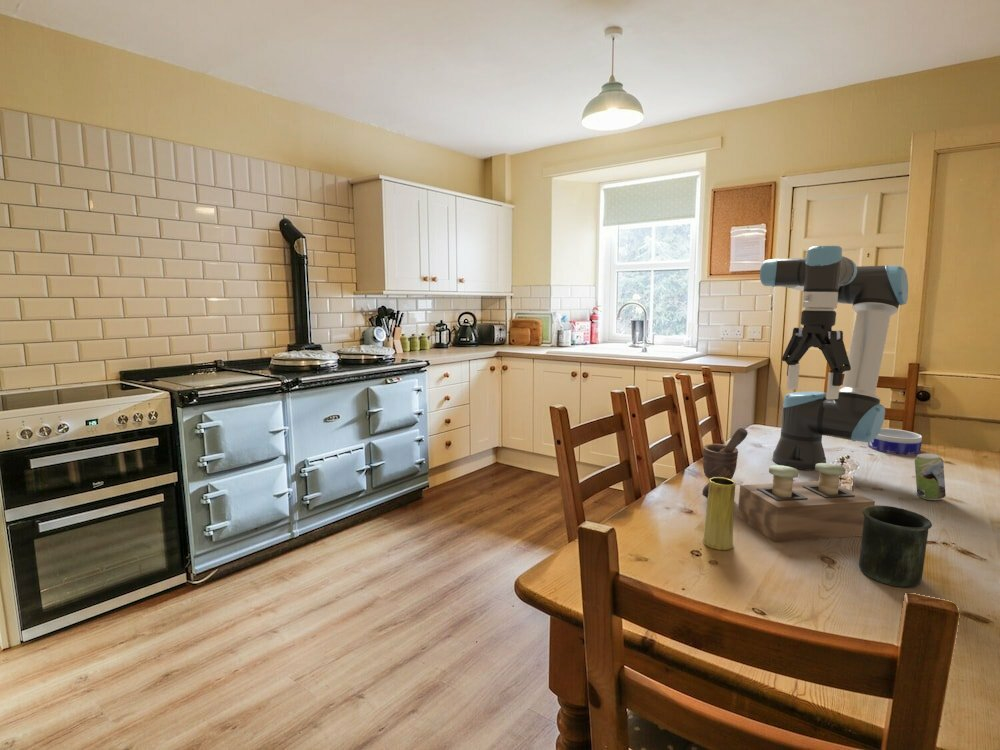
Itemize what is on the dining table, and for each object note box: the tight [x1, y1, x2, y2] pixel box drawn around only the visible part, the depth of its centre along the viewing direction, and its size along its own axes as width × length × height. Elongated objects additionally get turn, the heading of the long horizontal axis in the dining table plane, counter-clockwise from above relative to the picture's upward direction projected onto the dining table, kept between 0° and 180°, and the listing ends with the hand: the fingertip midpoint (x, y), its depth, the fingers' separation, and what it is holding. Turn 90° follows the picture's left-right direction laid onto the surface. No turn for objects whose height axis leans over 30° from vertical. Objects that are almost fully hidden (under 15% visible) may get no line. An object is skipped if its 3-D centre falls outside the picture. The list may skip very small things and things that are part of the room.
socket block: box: [737, 480, 876, 543], centre depth 128 cm, size 14×24×8 cm, turn 99°
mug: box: [858, 504, 933, 588], centre depth 107 cm, size 11×15×12 cm
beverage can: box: [914, 452, 947, 501], centre depth 146 cm, size 6×7×12 cm
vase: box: [702, 477, 736, 551], centre depth 118 cm, size 6×6×14 cm
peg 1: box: [768, 464, 800, 498], centre depth 127 cm, size 6×6×8 cm
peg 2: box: [815, 462, 846, 495], centre depth 129 cm, size 6×6×8 cm
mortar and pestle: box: [702, 427, 749, 497], centre depth 146 cm, size 12×9×20 cm
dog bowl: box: [867, 427, 923, 456], centre depth 194 cm, size 15×15×6 cm
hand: (811, 394), depth 139 cm, fingers open, 13 cm apart
